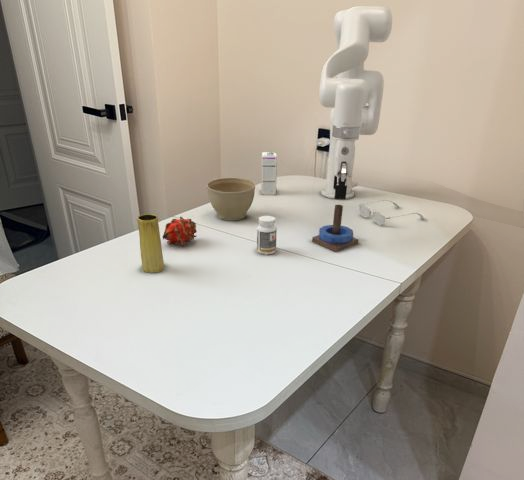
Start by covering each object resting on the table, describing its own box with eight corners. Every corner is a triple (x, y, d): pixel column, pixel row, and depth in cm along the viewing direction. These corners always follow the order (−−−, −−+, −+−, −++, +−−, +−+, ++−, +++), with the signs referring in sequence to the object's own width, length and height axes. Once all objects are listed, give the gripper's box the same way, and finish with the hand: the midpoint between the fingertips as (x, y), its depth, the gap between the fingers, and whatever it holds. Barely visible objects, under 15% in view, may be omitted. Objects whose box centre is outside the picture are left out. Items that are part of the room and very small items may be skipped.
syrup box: (276, 194, 191) (277, 155, 182) (260, 194, 191) (261, 155, 183) (276, 190, 195) (277, 152, 187) (261, 190, 195) (261, 151, 187)
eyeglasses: (356, 213, 175) (358, 202, 172) (397, 207, 182) (398, 196, 179) (384, 228, 163) (386, 216, 161) (426, 220, 170) (428, 209, 168)
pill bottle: (279, 251, 146) (281, 218, 140) (266, 256, 142) (267, 223, 137) (265, 245, 149) (266, 213, 143) (252, 251, 146) (252, 218, 140)
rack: (334, 234, 158) (337, 198, 151) (358, 244, 152) (363, 207, 145) (311, 241, 153) (314, 204, 146) (335, 252, 146) (340, 213, 140)
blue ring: (334, 228, 158) (334, 222, 157) (359, 238, 152) (360, 231, 151) (311, 236, 152) (312, 229, 151) (337, 246, 146) (337, 240, 145)
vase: (156, 261, 138) (150, 211, 130) (169, 268, 135) (164, 217, 127) (137, 267, 135) (130, 216, 127) (150, 275, 131) (144, 223, 123)
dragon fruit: (200, 243, 153) (168, 259, 148) (185, 222, 154) (152, 237, 149) (206, 228, 146) (173, 243, 140) (190, 206, 147) (156, 220, 141)
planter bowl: (198, 216, 169) (196, 184, 163) (230, 205, 179) (230, 174, 173) (232, 228, 160) (231, 194, 154) (264, 216, 171) (265, 184, 165)
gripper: (361, 139, 131) (353, 203, 140) (356, 127, 145) (349, 186, 155) (333, 138, 131) (327, 202, 141) (331, 126, 145) (325, 185, 155)
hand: (339, 194), depth 148 cm, fingers open, 9 cm apart
